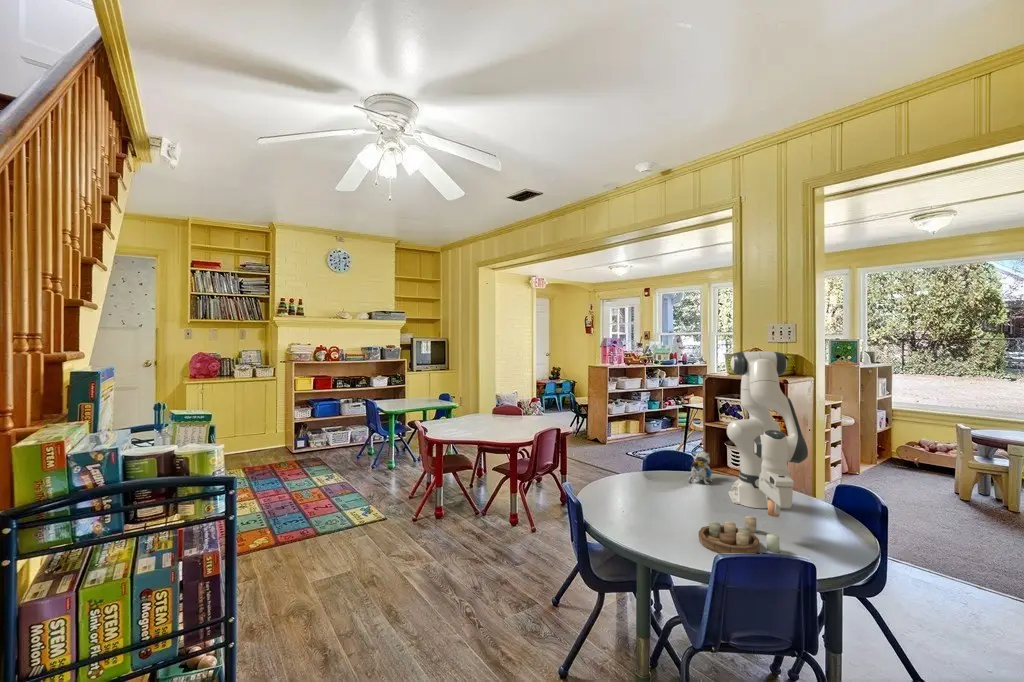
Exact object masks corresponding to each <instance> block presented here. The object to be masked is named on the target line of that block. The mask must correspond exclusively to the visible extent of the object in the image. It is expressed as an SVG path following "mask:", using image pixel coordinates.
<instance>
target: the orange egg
mask: <svg viewBox="0 0 1024 682" xmlns="http://www.w3.org/2000/svg"><path fill="white" fill-rule="evenodd" d="M774 508H775V502H774V501H772V500H768V508H767V516H770V517H774V518H779V517H780V515H781V513H780V514H775V513H774Z"/></svg>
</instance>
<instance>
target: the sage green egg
mask: <svg viewBox="0 0 1024 682" xmlns="http://www.w3.org/2000/svg"><path fill="white" fill-rule="evenodd" d="M780 550H781V549H780V536H779V535H777V534H774V533H773V534H772V533H769V534H768V533H767V534H766V551H768V552H770V553H774V554H779V553H780V552H781V551H780Z"/></svg>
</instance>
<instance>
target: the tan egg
mask: <svg viewBox="0 0 1024 682" xmlns="http://www.w3.org/2000/svg"><path fill="white" fill-rule="evenodd" d="M744 527H746V528H748V529H750V533H753V534H756V533H757V518H756V517H754V516H749V515H747V516H744Z"/></svg>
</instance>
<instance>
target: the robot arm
mask: <svg viewBox="0 0 1024 682" xmlns="http://www.w3.org/2000/svg"><path fill="white" fill-rule="evenodd" d="M787 366H788V361H787V358H786V355H785V354H784V353H782V352H778V351H766V350H765V351H762V350H758V351H739V352H734V354H732V357H731V358H730V367H731V370H732V372H733V373H734V374H735V375H738V376H741V381H740V405H741V406H742V408H743V409H745V410H746V411H747V412H748V416H749V417H748V418H745V419H742V418H741V419H737V420H734V421H731V422H729V423H728V425H727V427H726V435H727V437H728V438H729V440H730V441H731V442H732V443H733V444H734V445H735V447H736V448H737V450H738V452H739V461H740V462H739V463H740V470H739V472H738V473H739V474H738V479H737V480H736V481H734V482H733V484H732V485H731V486H730V487H731V488H730V489H731V490H729V491H728V493H727V494H728V495H729V497H730V500H731V502H732V504H737V505H742V506H745V507H747V508H752V509H753V508H754V509H768V500H772V501H774V502H775V508H774V513H775V514H780V515H781V509H791V507H792V505H793V494H794V493H793V491H794V490H793V488H792V487H794V486H795V482H794V480H793V479H792V477H791V475H790V473H789V465H788V463H793V464H794V463H795V464H801V463H802V462H803V461H805V460H807V458H808V456H809V447H808V445H807V442H806V441H805V438H804V435H803V432H802V430H801V426H800V423H799V421H798V417H797V414H796V410H795V408H794V405H793V402H792V400H791V399H790V397H789V396H786V395H785V394H784V393H783V391H782V389H781V387H780V379H779V376H782V375H783V374H784V373H786V370H787ZM770 410H772V411H774V412H776V413H777V414H779V415H780V416H781V417H782V418H783V420H784V423H785V427H786V430H787V434H788V436H787V434H786V433H785V432H782V431H781V427H780V424H779V423H778V421H776V420H775V419H774V418H773V416H772V414H771V412H770Z"/></svg>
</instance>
